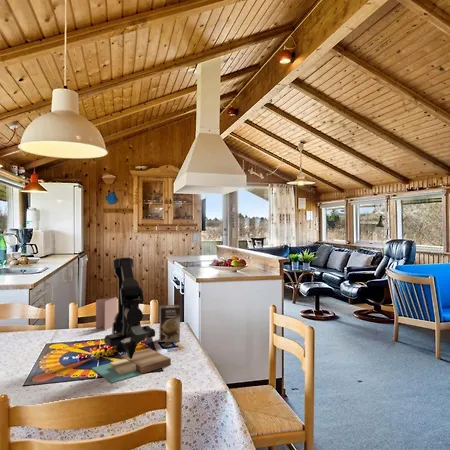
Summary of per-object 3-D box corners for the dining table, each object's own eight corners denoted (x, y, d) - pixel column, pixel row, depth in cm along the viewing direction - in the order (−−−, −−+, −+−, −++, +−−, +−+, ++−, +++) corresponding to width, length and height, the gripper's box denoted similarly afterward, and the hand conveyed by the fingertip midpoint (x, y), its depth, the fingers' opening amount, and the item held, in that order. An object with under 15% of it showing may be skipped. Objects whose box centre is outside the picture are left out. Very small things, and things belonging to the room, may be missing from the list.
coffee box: (160, 343, 172) (160, 308, 172) (159, 339, 178) (159, 305, 178) (180, 341, 174) (180, 307, 174) (178, 337, 180) (178, 304, 180)
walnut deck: (120, 361, 149) (120, 355, 149) (149, 354, 157) (149, 348, 157) (141, 373, 137) (141, 367, 137) (170, 365, 146) (170, 358, 145)
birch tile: (110, 367, 142) (110, 362, 142) (124, 363, 146) (124, 358, 146) (121, 374, 135) (121, 369, 135) (136, 370, 139) (136, 365, 139)
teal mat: (91, 368, 141) (91, 367, 141) (118, 361, 149) (118, 360, 149) (112, 383, 129) (112, 382, 129) (140, 374, 136) (140, 373, 136)
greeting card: (116, 324, 203) (116, 296, 203) (121, 327, 198) (122, 299, 198) (95, 328, 196) (95, 299, 196) (100, 331, 190) (100, 301, 190)
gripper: (117, 326, 130) (117, 371, 130) (163, 317, 143) (162, 358, 143) (103, 320, 139) (103, 362, 139) (147, 312, 151) (147, 350, 151)
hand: (130, 358), depth 143 cm, fingers closed
